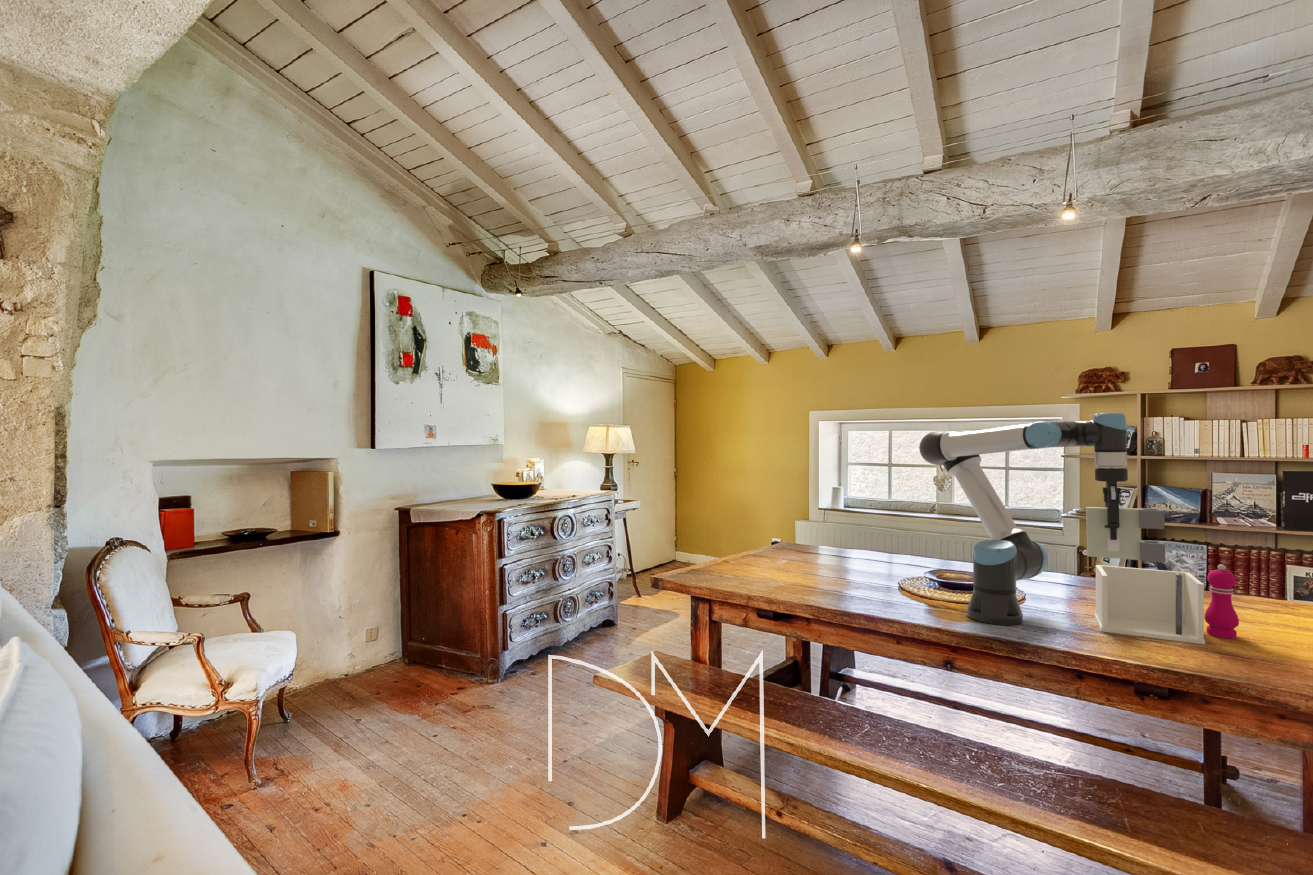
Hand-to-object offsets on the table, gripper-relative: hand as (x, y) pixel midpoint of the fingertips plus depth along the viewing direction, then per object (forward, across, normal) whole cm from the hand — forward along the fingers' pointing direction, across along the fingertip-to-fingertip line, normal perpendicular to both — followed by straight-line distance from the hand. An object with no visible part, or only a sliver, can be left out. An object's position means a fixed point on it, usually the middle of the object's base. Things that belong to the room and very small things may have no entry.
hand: (1113, 550), depth 176 cm
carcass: (+24, +11, -8) cm, 27 cm away
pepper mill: (+25, +15, -25) cm, 38 cm away
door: (+2, 0, -3) cm, 3 cm away
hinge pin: (+23, +6, -15) cm, 28 cm away
